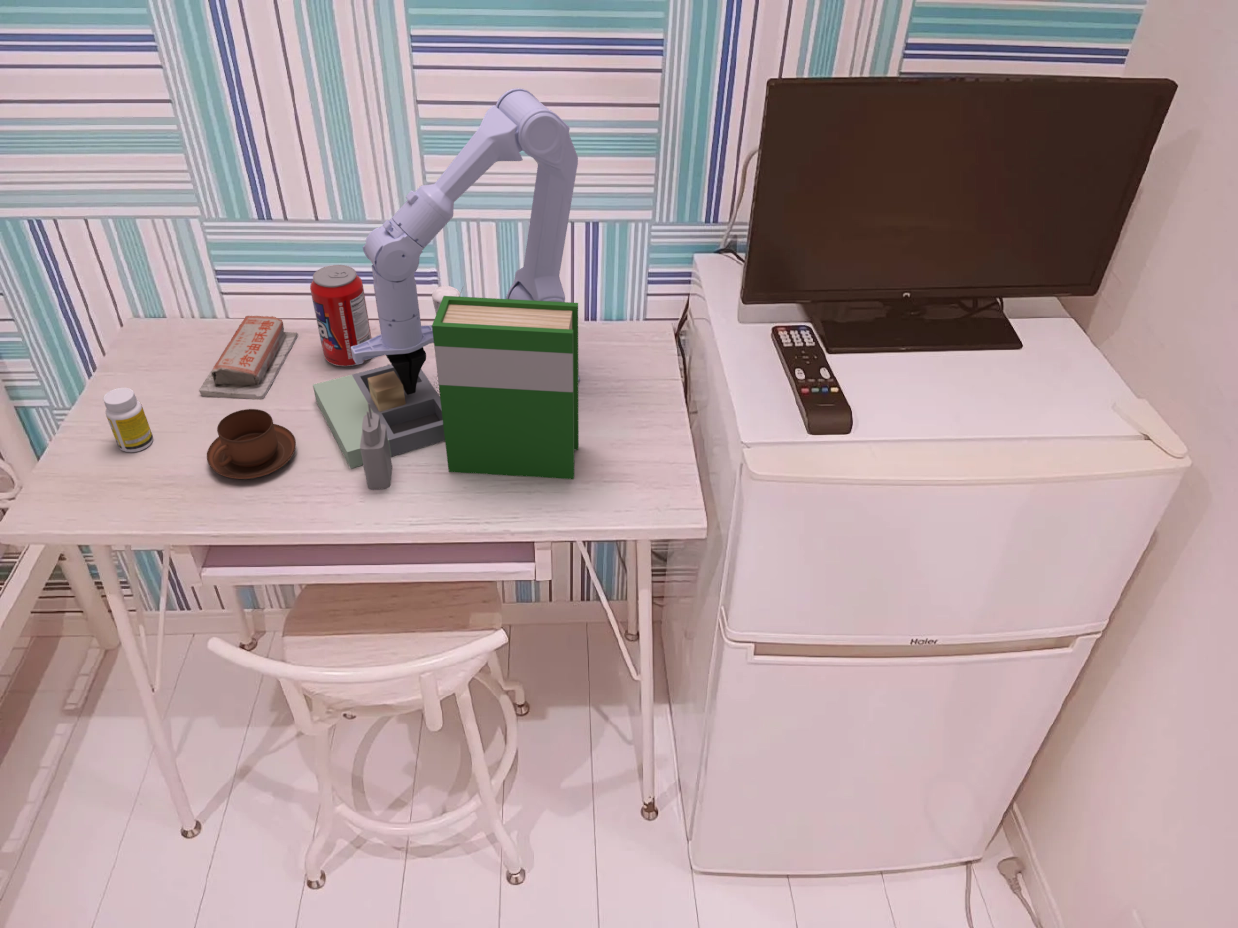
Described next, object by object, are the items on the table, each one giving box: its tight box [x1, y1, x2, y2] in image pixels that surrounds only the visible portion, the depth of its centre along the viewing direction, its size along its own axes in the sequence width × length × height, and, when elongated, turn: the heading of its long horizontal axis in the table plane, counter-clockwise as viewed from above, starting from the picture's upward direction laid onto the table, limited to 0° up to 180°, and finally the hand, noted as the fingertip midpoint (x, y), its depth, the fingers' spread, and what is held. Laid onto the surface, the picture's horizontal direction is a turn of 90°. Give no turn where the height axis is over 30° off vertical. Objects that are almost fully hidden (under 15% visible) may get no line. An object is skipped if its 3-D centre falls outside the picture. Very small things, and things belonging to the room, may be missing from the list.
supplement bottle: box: [102, 387, 154, 453], centre depth 139 cm, size 5×5×8 cm
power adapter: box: [360, 403, 393, 491], centre depth 134 cm, size 3×5×12 cm, turn 6°
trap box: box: [312, 363, 445, 469], centre depth 147 cm, size 16×18×3 cm
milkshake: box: [431, 285, 464, 315], centre depth 162 cm, size 4×5×10 cm
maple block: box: [368, 371, 406, 412], centre depth 145 cm, size 4×4×4 cm
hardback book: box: [432, 296, 580, 480], centre depth 133 cm, size 18×7×24 cm, turn 87°
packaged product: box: [198, 315, 299, 400], centre depth 156 cm, size 18×5×10 cm
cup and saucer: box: [206, 408, 297, 480], centre depth 138 cm, size 12×12×6 cm
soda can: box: [310, 264, 373, 367], centre depth 155 cm, size 8×8×15 cm
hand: (409, 390), depth 147 cm, fingers closed
